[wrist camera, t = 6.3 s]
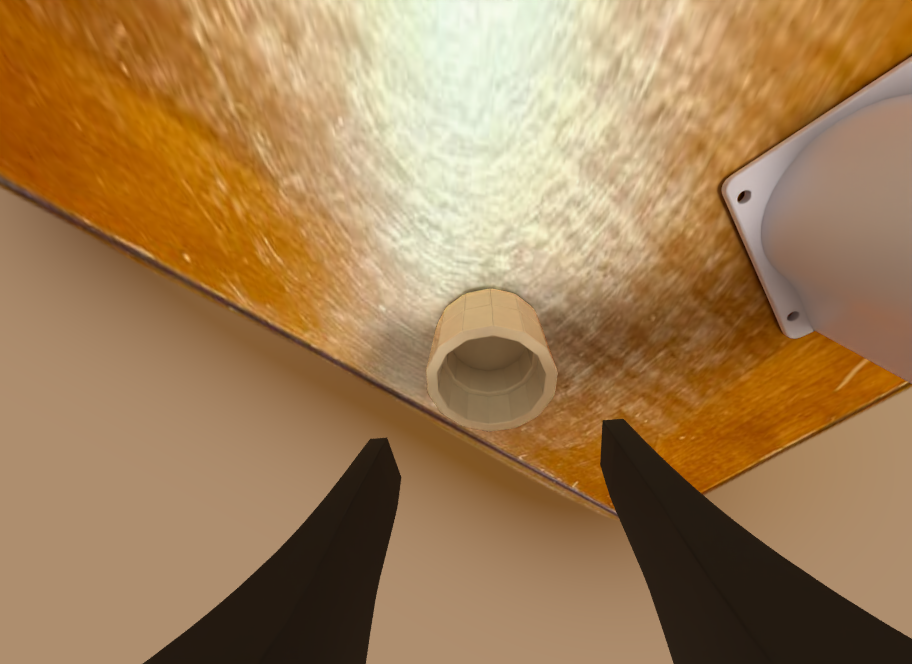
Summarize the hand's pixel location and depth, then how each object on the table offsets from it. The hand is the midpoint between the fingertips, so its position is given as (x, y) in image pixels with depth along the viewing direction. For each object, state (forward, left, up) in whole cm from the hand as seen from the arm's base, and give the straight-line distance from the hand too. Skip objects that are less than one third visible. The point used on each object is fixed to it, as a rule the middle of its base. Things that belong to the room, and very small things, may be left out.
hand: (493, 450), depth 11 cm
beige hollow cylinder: (0, 0, -8) cm, 8 cm away
